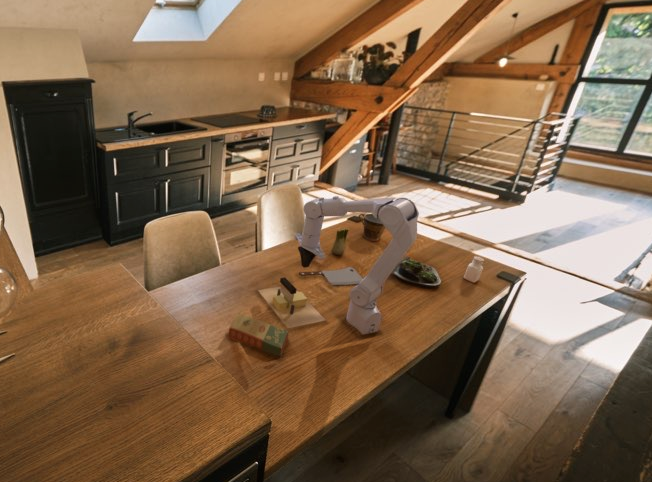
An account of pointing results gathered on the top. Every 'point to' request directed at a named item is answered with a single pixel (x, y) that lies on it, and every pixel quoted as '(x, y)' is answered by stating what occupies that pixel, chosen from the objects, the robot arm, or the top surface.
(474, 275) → the pepper shaker
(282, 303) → the butter slice
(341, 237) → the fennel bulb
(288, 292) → the dough scraper
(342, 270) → the kitchen cleaver
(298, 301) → the butter block
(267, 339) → the carton
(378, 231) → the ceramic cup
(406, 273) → the salad plate
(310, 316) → the board
